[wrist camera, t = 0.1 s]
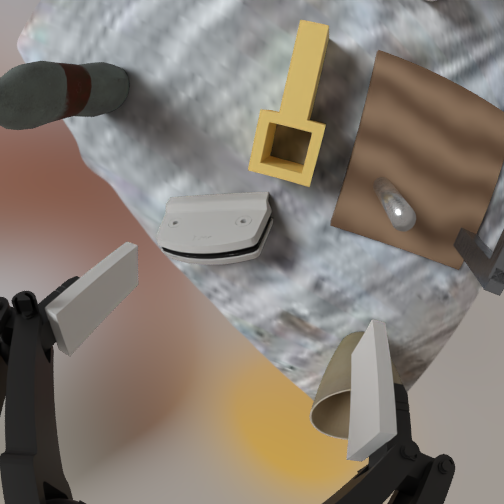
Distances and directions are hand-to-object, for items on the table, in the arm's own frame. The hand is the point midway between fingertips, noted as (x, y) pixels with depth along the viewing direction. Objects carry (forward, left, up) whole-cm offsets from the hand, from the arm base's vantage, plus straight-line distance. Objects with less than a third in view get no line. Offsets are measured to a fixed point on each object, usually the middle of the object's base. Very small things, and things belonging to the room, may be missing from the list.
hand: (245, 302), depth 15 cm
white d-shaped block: (+9, -10, -28) cm, 31 cm away
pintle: (-3, +11, -28) cm, 30 cm away
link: (-11, -2, -28) cm, 30 cm away
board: (-8, +17, -28) cm, 33 cm away
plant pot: (+25, +19, -28) cm, 42 cm away
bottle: (-9, -33, -28) cm, 44 cm away
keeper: (-4, +26, -28) cm, 38 cm away
